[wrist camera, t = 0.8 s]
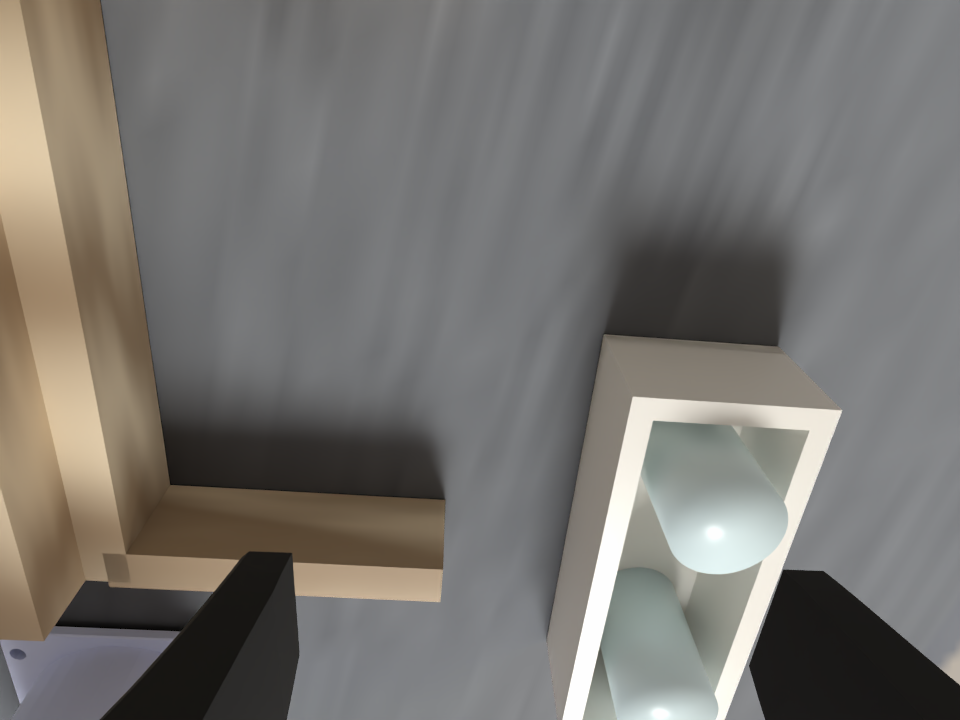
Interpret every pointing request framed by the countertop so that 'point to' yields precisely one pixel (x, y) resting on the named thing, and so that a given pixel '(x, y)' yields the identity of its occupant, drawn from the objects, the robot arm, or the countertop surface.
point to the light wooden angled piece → (125, 379)
